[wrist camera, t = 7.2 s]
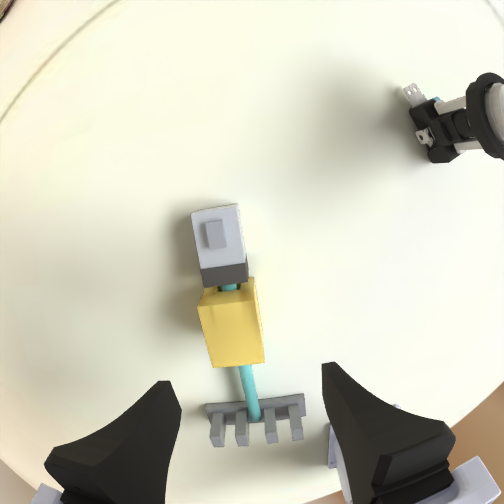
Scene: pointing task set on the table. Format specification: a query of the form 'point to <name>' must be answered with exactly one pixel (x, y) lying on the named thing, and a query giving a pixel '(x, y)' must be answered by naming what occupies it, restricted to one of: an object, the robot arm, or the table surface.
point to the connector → (219, 236)
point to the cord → (248, 380)
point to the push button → (461, 120)
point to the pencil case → (4, 6)
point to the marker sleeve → (232, 325)
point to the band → (225, 275)
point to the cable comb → (240, 418)
